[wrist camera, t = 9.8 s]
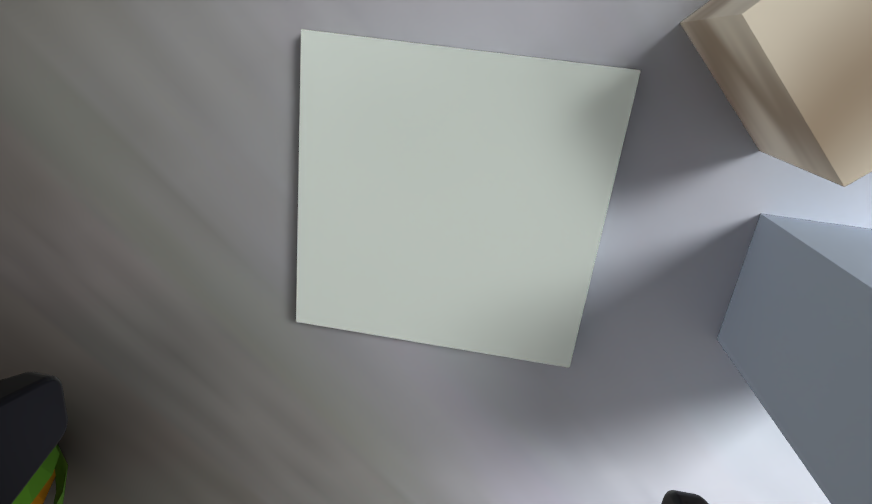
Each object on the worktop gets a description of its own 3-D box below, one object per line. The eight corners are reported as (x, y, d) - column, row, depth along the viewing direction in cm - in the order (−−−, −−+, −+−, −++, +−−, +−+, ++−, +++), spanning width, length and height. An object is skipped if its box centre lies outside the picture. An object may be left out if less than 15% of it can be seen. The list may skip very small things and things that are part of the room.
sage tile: (636, 69, 17) (640, 70, 17) (568, 359, 21) (569, 368, 21) (307, 29, 18) (300, 29, 18) (301, 314, 22) (296, 321, 22)
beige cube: (678, 23, 17) (741, 14, 12) (841, -98, 15) (985, -161, 11) (762, 156, 18) (849, 195, 13) (922, 56, 16) (1085, 61, 12)
